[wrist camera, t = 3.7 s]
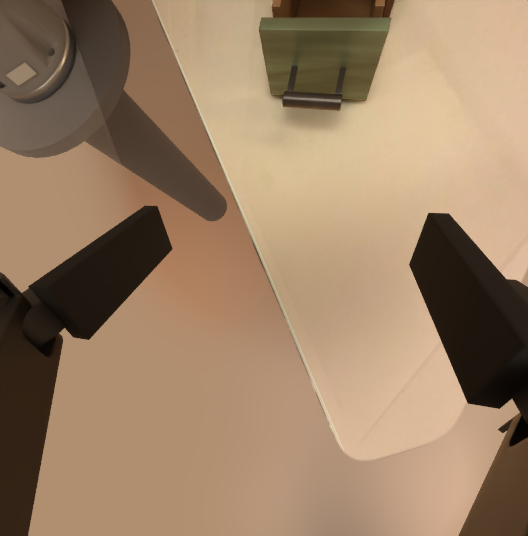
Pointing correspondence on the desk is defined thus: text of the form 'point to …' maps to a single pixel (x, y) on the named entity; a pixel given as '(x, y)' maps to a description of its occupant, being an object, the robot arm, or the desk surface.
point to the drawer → (322, 50)
